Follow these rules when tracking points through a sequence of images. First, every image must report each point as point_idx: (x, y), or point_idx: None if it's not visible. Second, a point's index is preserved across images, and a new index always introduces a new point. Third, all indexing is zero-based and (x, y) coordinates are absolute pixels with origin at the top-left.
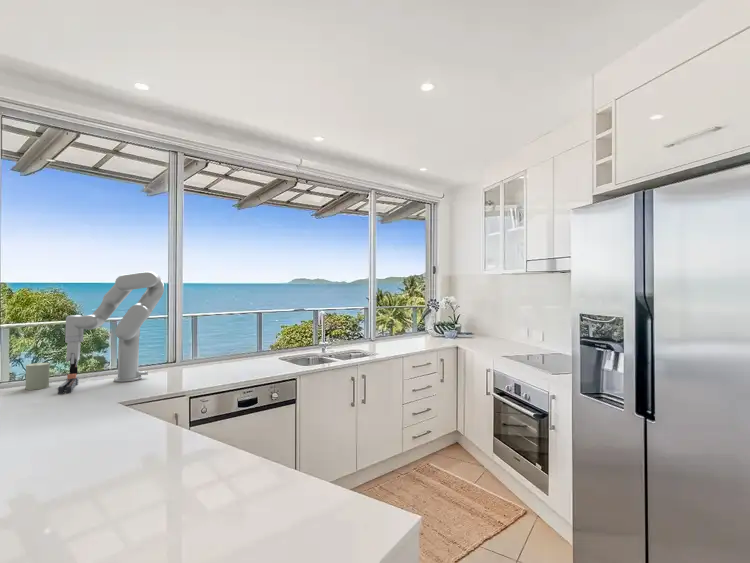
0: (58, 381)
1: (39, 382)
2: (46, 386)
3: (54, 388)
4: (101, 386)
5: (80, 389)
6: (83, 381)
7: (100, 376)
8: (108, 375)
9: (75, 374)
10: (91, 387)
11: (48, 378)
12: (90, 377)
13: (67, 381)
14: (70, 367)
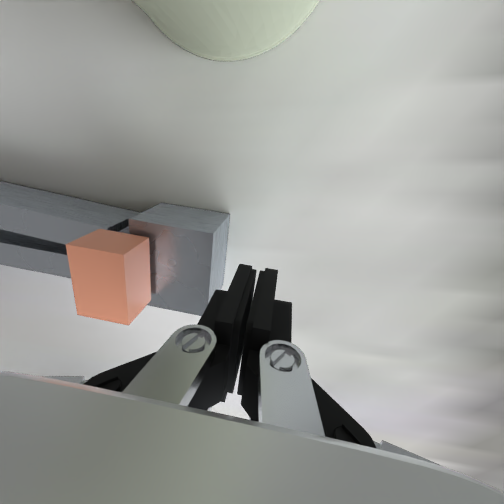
0: (493, 143)
1: None
2: (164, 31)
3: (103, 116)
4: (57, 366)
5: (4, 274)
6: (299, 320)
7: (437, 425)
8: (433, 460)
9: (79, 312)
10: (46, 326)
11: (161, 12)
12: (457, 378)
13: (17, 223)
14: (194, 329)
